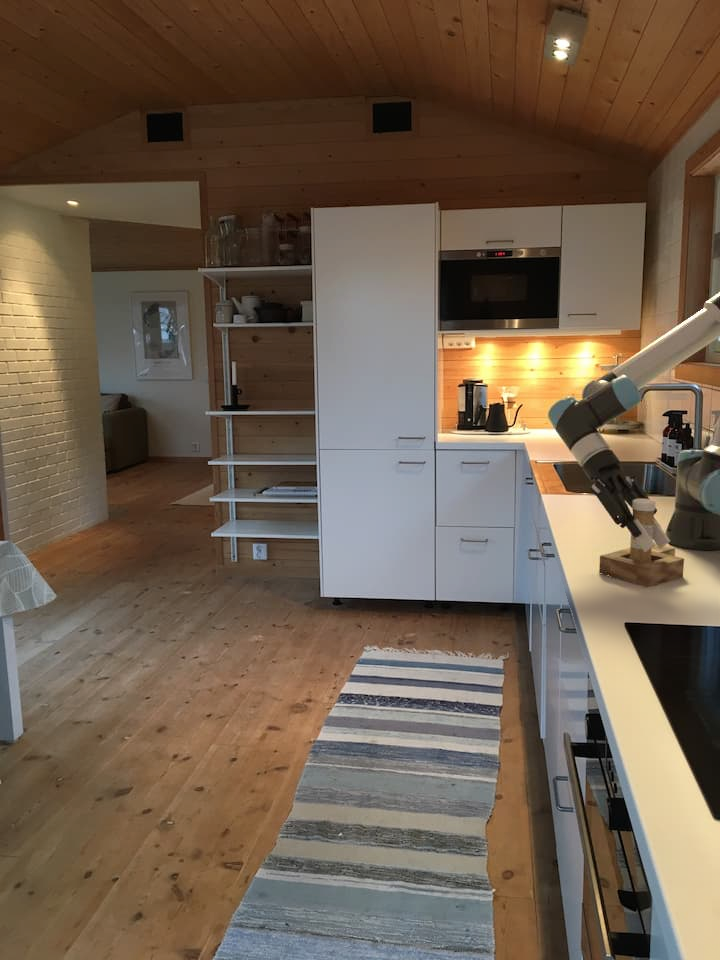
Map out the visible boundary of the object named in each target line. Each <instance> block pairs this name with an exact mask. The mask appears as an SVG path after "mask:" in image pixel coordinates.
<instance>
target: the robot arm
mask: <svg viewBox="0 0 720 960" xmlns="http://www.w3.org/2000/svg"><path fill="white" fill-rule="evenodd" d="M719 338H720V291H719V292H718V293H716V294H715V295H713V296H712V297H711V298H709V299H708V300H706V301H705V302H704V304H703V308H702V309H701V310H700V311H698V312H696V313H695V314H694V315H692V316H690V317H689V318H688V319H685V320H684V321H683V322H682V323H680V324H679V325H677V326H676V327H674V328H673V329H671V330H669V331H668V332H667V333H665V334H664V335H662V336H660V337H659V338H657V340H654V342H652V343H650V344H648V345H647V346H646V347H644V348H643V349H641V350H640V351H638V352H637V353H635V354H634V355H632V356H630V358H629V357H628V359H626V360H625V361H624V362H622V363H621V364H619V365H617V366H616V367H614V368H613V369H611V370H610V371H609V372H607V373H606V374H604V375H603V376H601V377H599V378H598V379H593V380H592V381H589V382H588V383H587V384H586V385H585V386H584V387H583V389H582V393H581V398H582V399H579V400H578V399H576V398H575V397H574V396H567V397H565V398H561V399H559V400H558V401H556V402H555V403H554V404H553V405H552V406H551V407H550V408H549V410H548V414H547V417H548V420H549V422H550V423H551V426H553V428H554V430H555V432H556V433H557V435H558V436H559V438H560V439H561V441H562V442H563V444H565V445H566V447H567V449H568V450H569V451H570V453H571V454H572V455H573V456H572V457H574V458H575V460H576V462H577V463H578V465H579V466H580V467H582V471H583V472H584V474H585V475H586V477H587V478H588V479H589V481H591V482H593V484H592V485H591V486H590V487H589V491H590V492H591V493H592V494H594V496H596V497H597V499H598V501H599V502H600V503H601V505H602V506H603V508H604V509H605V511H606V512H607V513H608V515H609V516H610V517H611V519H612V520H613V522H614V524H616V525H617V526H619V527H620V528H621V529H625V528H626V529H628V532H630V535H631V534H632V536H633V537H634V538H635V539H636V540H637V542H638V543H639V545H640V546H641V548H642V549H643V551H644V552H647V551H649V550H650V549H651V548H652V547H654V546H655V543H656V544H657V546H658V547H659V548H662V547H663V546H667V544H671V545H673V546H676V547H680V548H687V549H692V550H693V549H694V550H703V551H707V550H708V551H714V550H715V551H716V550H720V415H719V416H718V419H717V420H718V421H717V425H716V428H715V432H714V435H713V441H712V443H711V444H708V446H706V447H705V448H703V449H683V450H681V451H679V453H678V455H677V461H676V466H677V467H676V481H675V482H676V483H675V484H676V485H675V495H674V496H675V498H674V499H675V500H674V501H675V502H674V509H673V512H672V515H671V517H670V520H669V522H668V525H667V527H666V529H665V531H664V530H663V529H662V527H661V525H660V523H658V521H657V519H656V518H655V517H654V521H653V524H654V526H653V540H652V539H651V537H650V536H649V535H648V533H647V532H646V530H645V529H644V527H643V526H642V524H641V523H640V522H639V520H638V519H635V520H634V521H633V519H634V518H633V513H632V512H631V510H630V508H632V501H633V500H634V499H650V497H649V496H648V494H647V493H646V492H645V490H644V489H643V488H642V486H641V485H640V483H639V480H638V478H637V476H636V475H635V474H632V475H631V476H627V475H626V473H624V472H623V471H622V470H621V469H620V466H621V465H620V464H621V461H620V460H619V458H618V457H617V455H616V454H615V452H614V451H613V450H612V449H610V448H611V447H610V445H609V443H608V442H607V441H606V440H605V438H604V437H603V435H602V434H601V432H599V430H598V429H600V428H602V427H603V426H605V425H606V424H608V423H610V422H611V421H613V420H614V419H617V418H618V417H620V416H622V415H624V414H625V413H627V412H629V411H631V410H632V409H633V408H635V407H636V406H637V405H639V404H640V403H641V402H642V395H641V392H640V390H641V389H642V388H644V387H645V386H647V385H648V384H650V383H652V382H653V381H655V380H656V379H658V378H660V377H661V376H662V375H664V374H665V373H667V372H668V371H670V370H671V369H674V367H676V366H677V365H679V364H680V363H682V362H684V361H685V360H686V359H689V357H691V356H693V355H695V354H696V353H697V352H699V351H700V350H702V349H704V348H705V347H706V346H708V345H710V344H711V343H713V342H714V341H715V340H717V339H719ZM628 505H629V506H630V507H629V506H628ZM657 512H658V509H657V507H655V510H654V515H656V514H657Z"/></svg>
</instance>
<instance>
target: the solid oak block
mask: <svg viewBox="0 0 720 960" xmlns="http://www.w3.org/2000/svg"><path fill="white" fill-rule="evenodd" d="M654 543H655V542H654ZM651 551H655V552H659V553H663V554H667V555H671V556H675V557H676V548H675V547H672V546H668V545H665V546H663V547H662V548H659V547H658V546H657V544H656V543H655V546H654V547H652V550H651Z"/></svg>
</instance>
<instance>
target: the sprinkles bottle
mask: <svg viewBox="0 0 720 960" xmlns="http://www.w3.org/2000/svg"><path fill="white" fill-rule="evenodd" d="M655 508H656V501H655V500H654V499H650V498H649V499H634V500H633V501H632V516H633V518H634V519H633V521H634V520H635V519H638V520H639V522H640V523H641V524H642V526H643V527H644V529H645V530H646V532H647V533H648V535H649V536H650V537H651V539H652V540H653V526H654V524H653V521H654V518H655V517H654V516H655V514H654V510H655ZM653 541H654V540H653ZM629 548H630V558H629V559H631V560H635V561H639V562H643V563H648V562H651V550H652V548H651V549H650V550H649V551H647V552H644V551H643V549H642V548H641V546H640V545H639V543H638V542H637V540H636V539H635V538H634V537H633V536H632V534H631V533H630V547H629Z"/></svg>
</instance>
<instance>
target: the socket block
mask: <svg viewBox="0 0 720 960" xmlns="http://www.w3.org/2000/svg"><path fill="white" fill-rule="evenodd" d="M629 558H630V547H629V548H624V549H621V550H616V551H613V552H609V553H608V552H607V553H605V554H600V555H599V570H598V574H599V573H602V574H605V575H604V576H606V575H609V576H611V577H610V578H613V577H614V578H613V579H616V578H617V580H619V579H620V581H624V582H626V583H630V584H633V585H637V586H641V587H643V586H644V588H647V587H649V588H651V586H652V587H654V586H659V585H661V583H662V584H664V583H668V582H671V581H674V580H675V581H676V580H678V579H681V578H684V567H685V566H684V563H685V558H683V557H680V556H679V557H678V556H676V555H675V556H671V555H667V554H663V553H659V552H655V551H651V562H648V563H643V562H639V561H635V560H631V559H629ZM602 574H601V575H602ZM609 576H608V577H609ZM658 584H659V585H658Z"/></svg>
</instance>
